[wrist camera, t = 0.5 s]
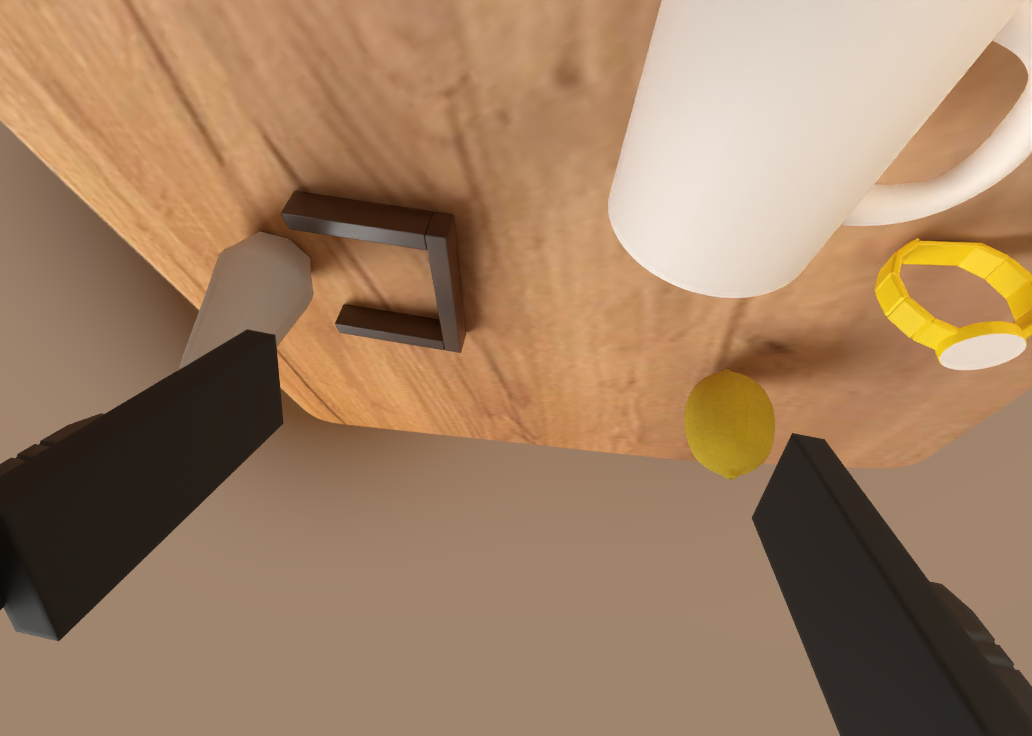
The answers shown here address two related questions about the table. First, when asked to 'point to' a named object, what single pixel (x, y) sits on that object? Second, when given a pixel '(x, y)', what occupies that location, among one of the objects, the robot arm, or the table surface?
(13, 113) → the table surface
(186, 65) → the table surface
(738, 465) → the lemon
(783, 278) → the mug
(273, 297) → the salt shaker
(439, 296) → the walnut stop
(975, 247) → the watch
